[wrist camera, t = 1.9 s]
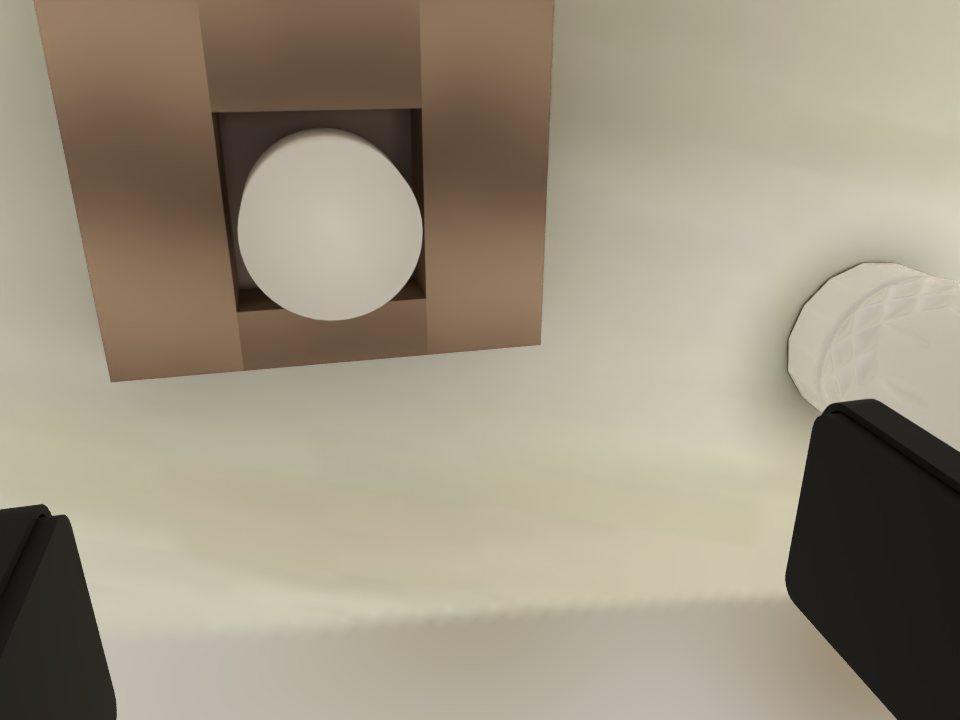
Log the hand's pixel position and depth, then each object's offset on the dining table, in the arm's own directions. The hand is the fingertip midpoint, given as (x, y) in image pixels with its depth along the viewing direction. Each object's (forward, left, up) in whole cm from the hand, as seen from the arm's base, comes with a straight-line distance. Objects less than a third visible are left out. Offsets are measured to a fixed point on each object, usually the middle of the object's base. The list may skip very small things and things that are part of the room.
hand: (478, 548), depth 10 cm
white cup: (+6, +21, -19) cm, 29 cm away
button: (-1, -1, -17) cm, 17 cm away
